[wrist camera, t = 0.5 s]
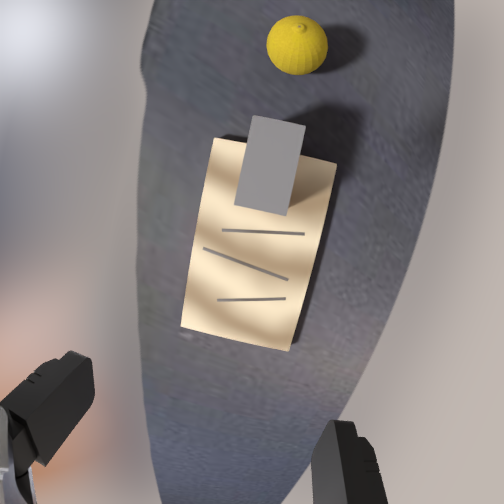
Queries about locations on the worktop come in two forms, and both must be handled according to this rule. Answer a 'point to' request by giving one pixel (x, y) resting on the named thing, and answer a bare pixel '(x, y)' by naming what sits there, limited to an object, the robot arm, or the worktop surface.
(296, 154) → the block
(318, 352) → the worktop surface
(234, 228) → the board
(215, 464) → the worktop surface
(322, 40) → the lemon
